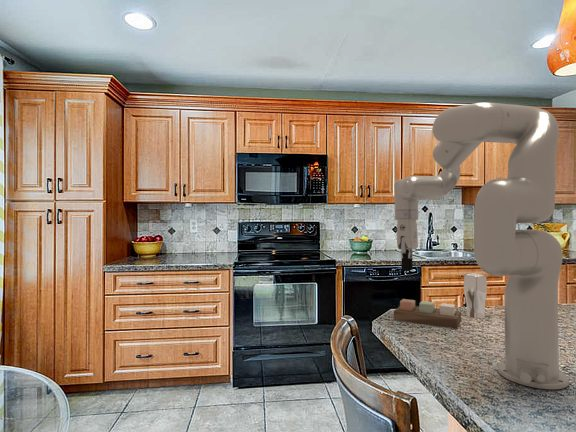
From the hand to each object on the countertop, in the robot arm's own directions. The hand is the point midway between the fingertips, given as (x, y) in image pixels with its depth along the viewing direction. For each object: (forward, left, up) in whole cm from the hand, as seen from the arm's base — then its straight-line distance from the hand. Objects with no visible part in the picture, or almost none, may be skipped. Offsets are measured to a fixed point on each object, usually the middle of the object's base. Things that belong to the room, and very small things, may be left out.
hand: (407, 269), depth 120 cm
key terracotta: (0, 0, -14) cm, 14 cm away
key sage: (0, -6, -14) cm, 15 cm away
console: (0, -6, -17) cm, 18 cm away
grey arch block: (+14, -19, -17) cm, 29 cm away
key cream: (0, -12, -14) cm, 18 cm away
